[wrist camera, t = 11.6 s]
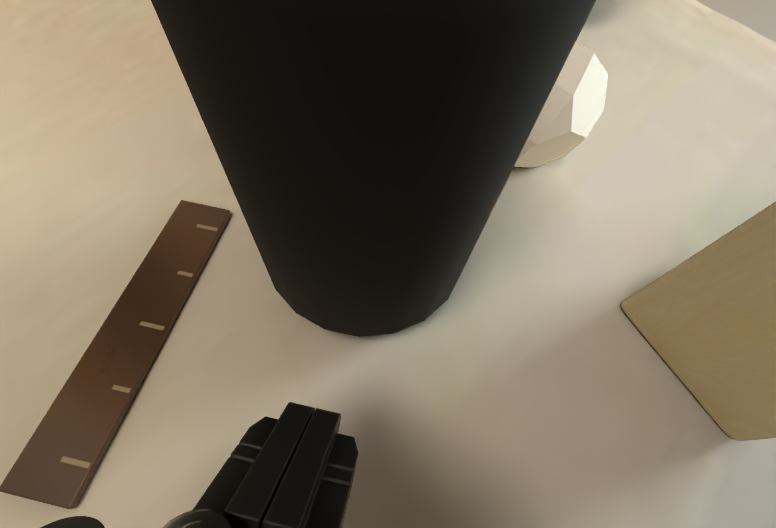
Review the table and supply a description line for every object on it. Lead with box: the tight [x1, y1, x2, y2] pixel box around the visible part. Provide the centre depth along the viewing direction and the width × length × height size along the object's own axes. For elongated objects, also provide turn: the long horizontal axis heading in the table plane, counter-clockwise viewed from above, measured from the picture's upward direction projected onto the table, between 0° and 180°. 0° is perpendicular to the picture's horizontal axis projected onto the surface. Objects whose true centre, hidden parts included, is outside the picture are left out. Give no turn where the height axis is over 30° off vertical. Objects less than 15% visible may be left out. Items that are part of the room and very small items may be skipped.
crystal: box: [514, 42, 608, 168], centre depth 28 cm, size 7×7×24 cm
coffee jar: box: [151, 0, 596, 337], centre depth 14 cm, size 11×11×18 cm
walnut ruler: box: [0, 200, 231, 509], centre depth 19 cm, size 15×3×1 cm, turn 168°
